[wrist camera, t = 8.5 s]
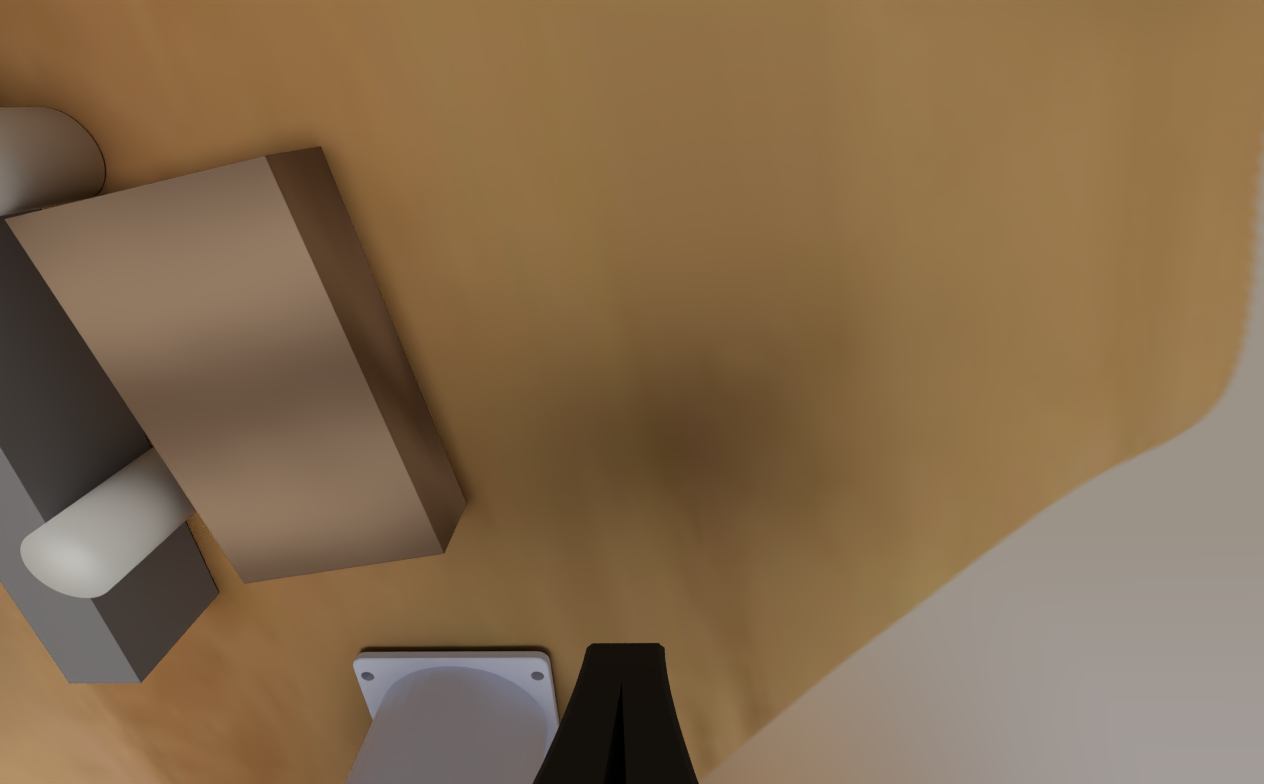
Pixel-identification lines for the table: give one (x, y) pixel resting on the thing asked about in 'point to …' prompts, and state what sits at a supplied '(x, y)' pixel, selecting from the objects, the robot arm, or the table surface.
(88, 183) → the bench dog bar
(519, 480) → the table surface
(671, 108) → the table surface
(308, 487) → the brown rectangular block
